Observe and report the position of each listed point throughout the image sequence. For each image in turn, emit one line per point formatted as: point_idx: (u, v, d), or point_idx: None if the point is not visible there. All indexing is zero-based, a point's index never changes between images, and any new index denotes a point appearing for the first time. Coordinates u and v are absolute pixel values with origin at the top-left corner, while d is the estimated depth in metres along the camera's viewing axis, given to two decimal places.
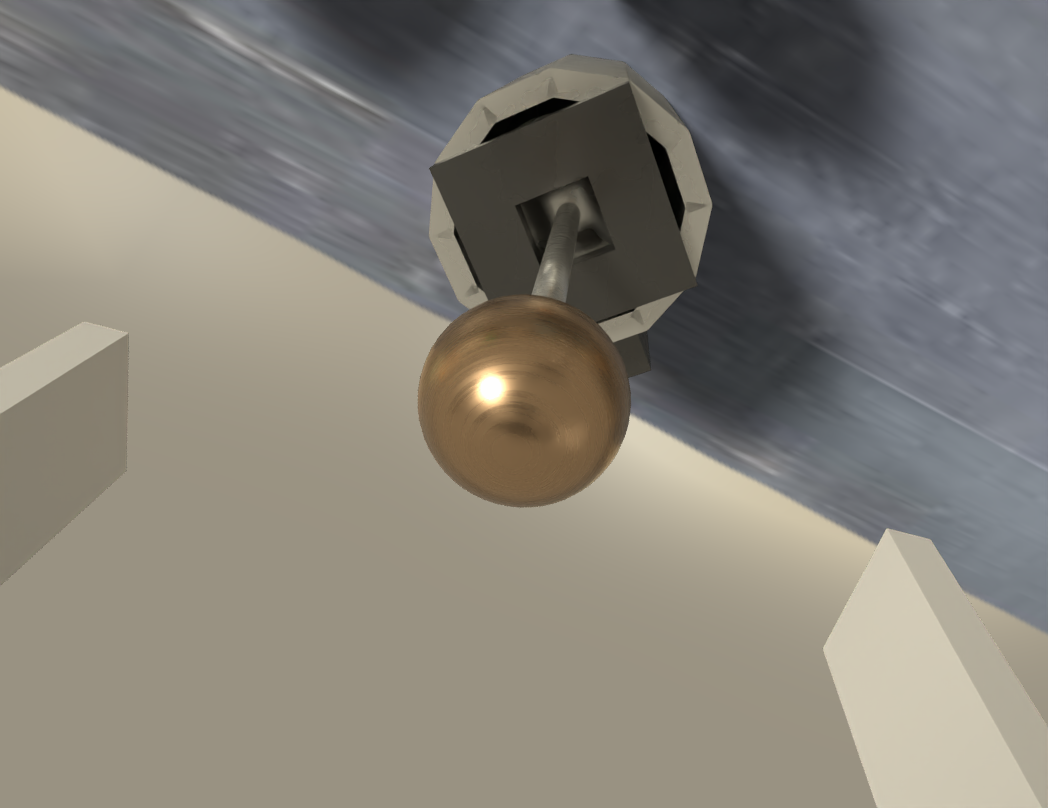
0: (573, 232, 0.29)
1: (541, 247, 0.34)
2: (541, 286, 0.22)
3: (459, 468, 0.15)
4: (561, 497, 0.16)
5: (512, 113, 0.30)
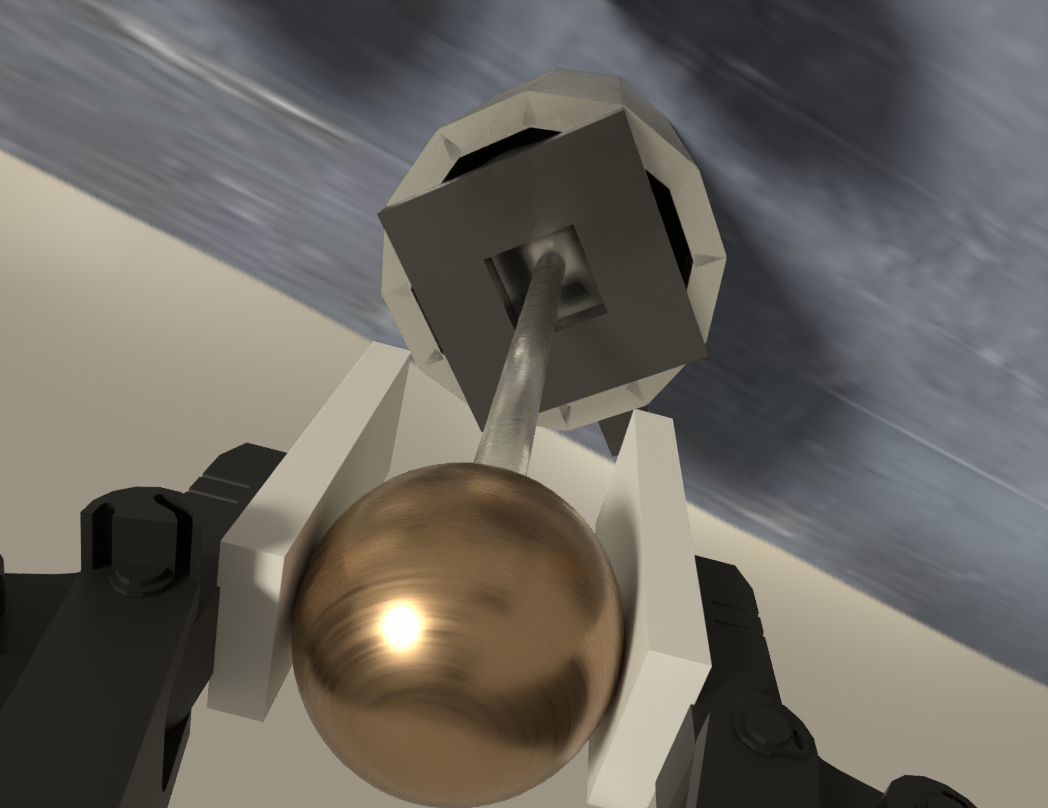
0: (554, 297, 0.23)
1: (518, 304, 0.28)
2: (505, 394, 0.16)
3: (348, 764, 0.09)
4: None
5: (480, 146, 0.25)
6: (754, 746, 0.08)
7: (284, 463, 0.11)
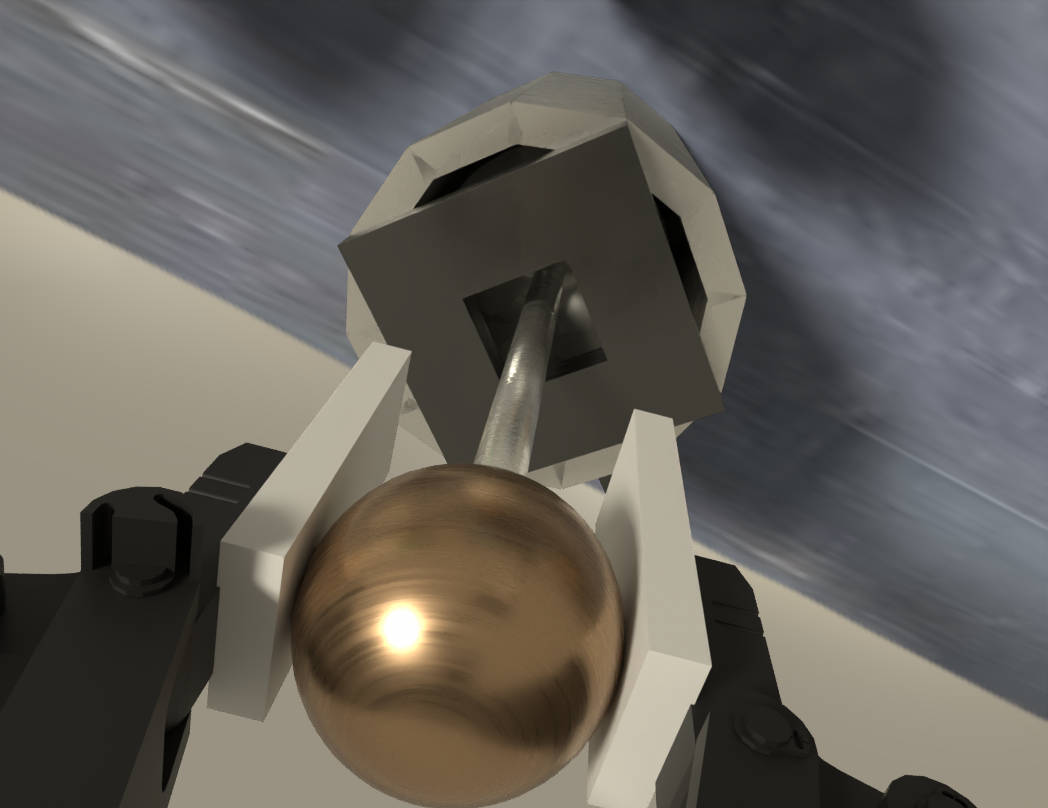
0: (555, 297, 0.23)
1: (519, 304, 0.28)
2: (505, 394, 0.16)
3: (347, 764, 0.09)
4: (515, 796, 0.10)
5: (458, 166, 0.21)
6: (754, 745, 0.08)
7: (284, 463, 0.11)
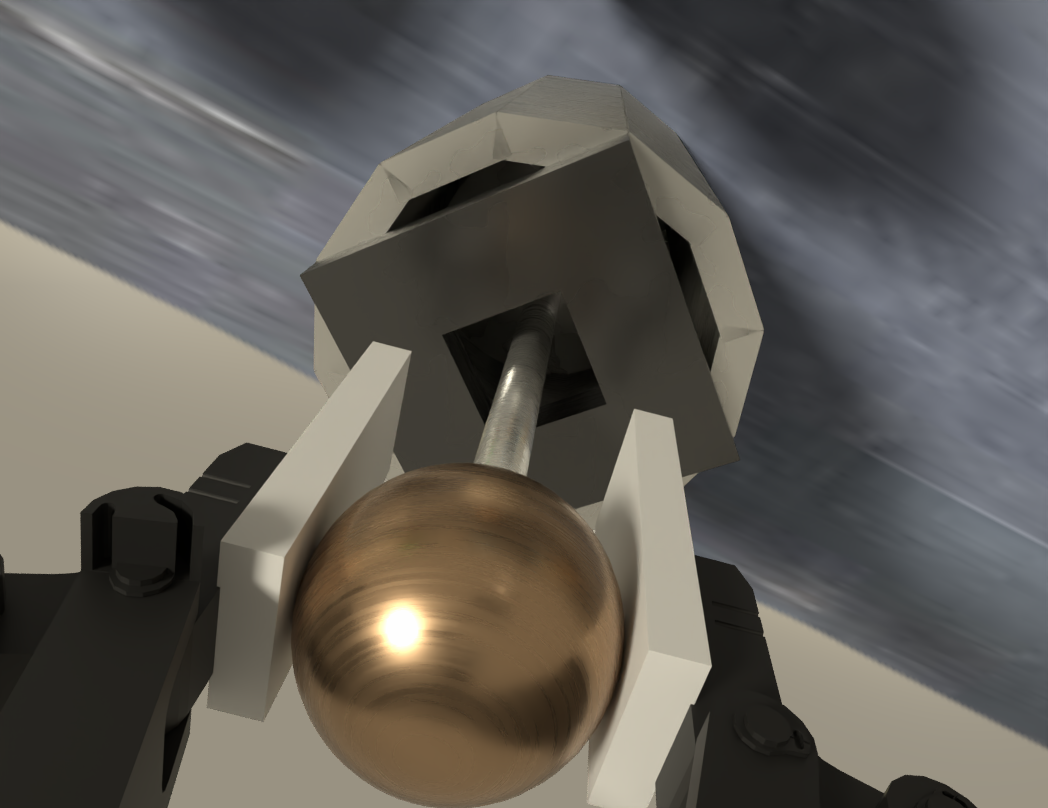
0: (554, 297, 0.23)
1: None
2: (505, 394, 0.16)
3: (348, 764, 0.09)
4: None
5: (436, 185, 0.18)
6: (754, 746, 0.08)
7: (284, 463, 0.11)
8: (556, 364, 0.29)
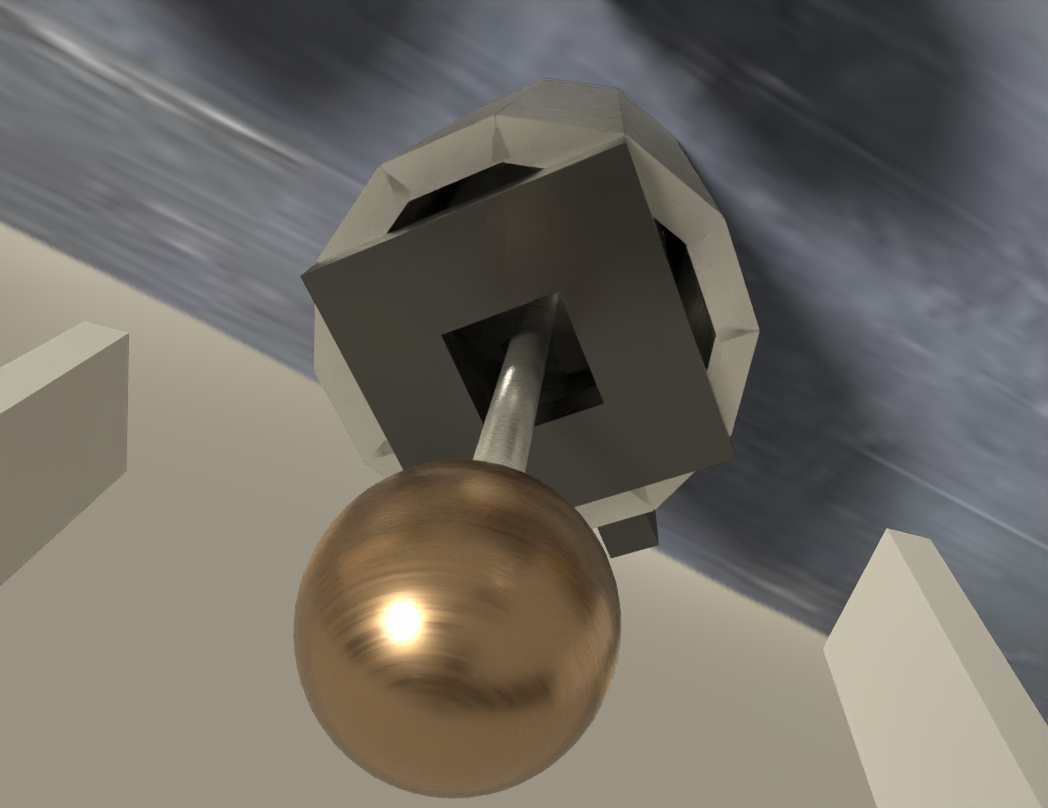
0: (552, 297, 0.23)
1: None
2: (503, 393, 0.17)
3: (349, 754, 0.10)
4: (513, 786, 0.10)
5: (436, 186, 0.19)
6: None
7: None
8: (554, 364, 0.29)
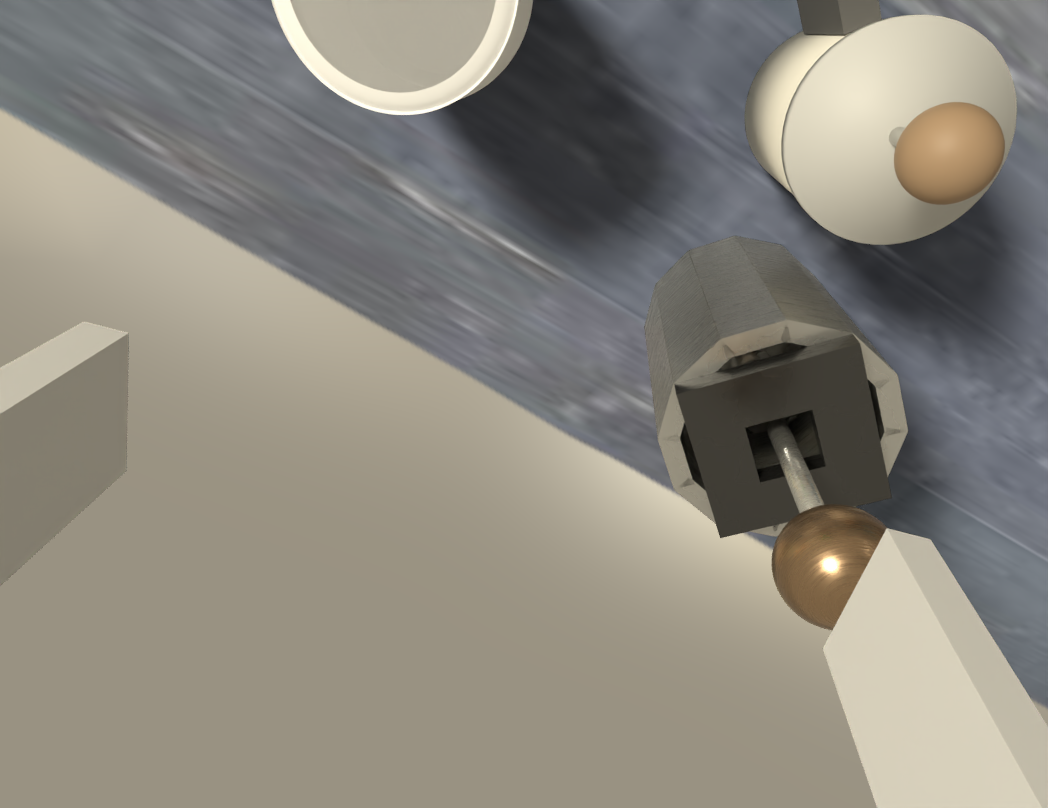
0: None
1: None
2: (795, 464, 0.34)
3: (814, 611, 0.27)
4: None
5: (748, 351, 0.36)
6: None
7: None
8: (746, 427, 0.46)
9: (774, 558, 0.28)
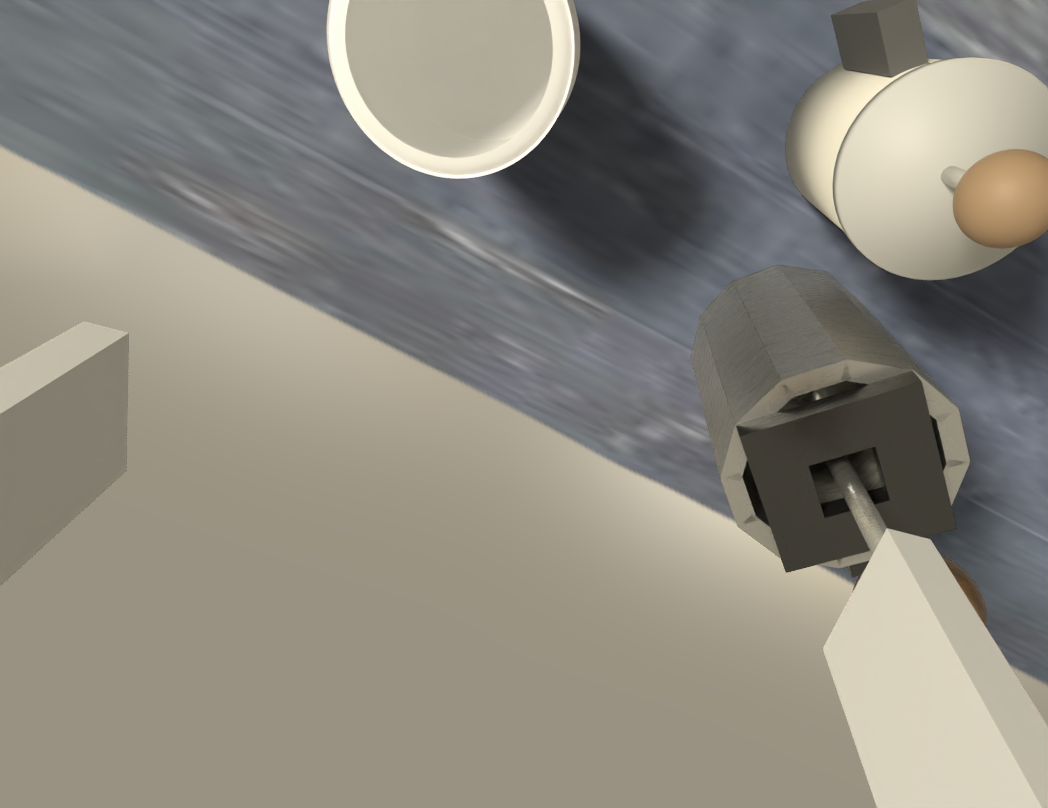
0: None
1: None
2: (862, 502, 0.34)
3: None
4: None
5: (808, 391, 0.36)
6: None
7: None
8: None
9: None
